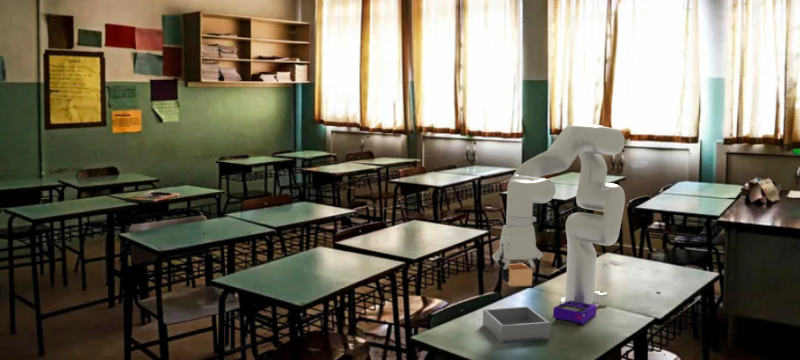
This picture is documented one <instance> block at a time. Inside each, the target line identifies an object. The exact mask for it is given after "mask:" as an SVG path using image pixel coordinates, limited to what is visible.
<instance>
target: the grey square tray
mask: <svg viewBox="0 0 800 360" xmlns="http://www.w3.org/2000/svg"><path fill="white" fill-rule="evenodd" d="M482 312H483V313H482V326H483V325H484V326H485V327H486V328H487V329H488V330H487V329H486V328H485V327H484V326H483V327H484V328H485V329H486V330H487V331H488V332H489V333H491V335H493V337H495V339H497V340H498V341H499V342H500V343H501V344H504V343H515V342H517V343H518V342H519V343H520V342H527V341H528V342H530V341H539V340H550V331H551V322H550V321H549V320H547V319H546V318H545V317H543V316H542V315H540V314H539V313H538V312H536V310H534V309H532V308H531V307H530V306H529V305H528V306H515V307H512V306H511V307H502V308H500V307H499V308H488V309H485V308H484V309H483V310H482Z"/></svg>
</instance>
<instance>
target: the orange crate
mask: <svg viewBox="0 0 800 360" xmlns="http://www.w3.org/2000/svg"><path fill="white" fill-rule="evenodd" d="M508 269H509V281H508V282H505V281H503V279H502V278H501V280H502V282H503V283H505V284H506V285H508V286H509V287H511V288H513V287H517V288H518V287H532V286H533V276H532V269H531V268H530V267H528V266H527V264H525V263H522V262H521V263H509V266H508Z"/></svg>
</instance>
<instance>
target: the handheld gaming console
mask: <svg viewBox="0 0 800 360" xmlns="http://www.w3.org/2000/svg"><path fill="white" fill-rule="evenodd" d="M597 308H598V307H597V305H591V304H586V303H581V302H576V301H568V302H565V303H563V304H561V303H560V304H559V305H556V306H554V307H553V314H552V318H553V319H556V320H557V323H561V324H565V325H569V326H574V327H576V326H577V325H578V324H579V325H585V324H586V323H587V322H588V321H589V320H590V319H592V317H593V318H594V317H595V316H596V315H597Z"/></svg>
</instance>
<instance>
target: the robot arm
mask: <svg viewBox="0 0 800 360" xmlns="http://www.w3.org/2000/svg"><path fill="white" fill-rule="evenodd" d="M625 141H626V140H625V135H624V133H623V132H622V131H621V130H619V129H616V128H614V127H607V126H602V125H599V124H597V125H596V124H584V123H581V124H580V123H571V124H568V125H567V126H565V127H564V128H563V129H562V130H561V132H560V133H559V135H558V136H557V138H556V139H554V141H553V142H552V144H551V145H550V147H549V148H548V149H547V150H546V151H543V152H541V153H539V154H537V155H536V156H533V157H532V158H529V159H528V160H526V161H525V162H523V163H522V164H520V166H518V167H517V169H516V170H515V172H514V173H513V175H512V176H511V177H510V180H509V181H508V183H507V191H506V193H507V194H506V218H505V219H506V220H505V221H506V222H505V224H503V225H502V230H501V234H500V240H499V246H498V247H499V248H498V249H496V251H495V252H494V253H493V254H492V258H493V260H494V261H495V262H496V263H497V264H498V265H499V266H500V268H501V280H502V279H503V281H505V282H508V281H509V269H508V266H509V264H511V262H512V261H525V263H526V265H527V266H528V267H530V268H531V269H532V277H533V274H534V273H533V272H534V268H535V266H536V265H537V263H538V262H539V261H540V260H541V258H542V257H543V256H544V254H543V252H542V251H540V249H538V247H537V244H536V243H537V240H536V239H537V238H536V232H535V227H534V225H533V223H534V222H537V217H536V216H533V210H534V203H535V204H546V203H549V202H550V201H552V200H553V198H554V196H555V194H556V185H555V184H554V182H553V181H552V180H550V179H548V178H545V177H543V176H547V175H548V176H549V175H554V174H558V173H561V172H563V171H566V170H568V169H569V168H570V167H571V166H572V164H573V162H574V161H575V160H576V158H577V157H578V158H579V160H580V167H581V168H580V173H579V174H580V175H579V180H578V185H577V190H576V195H575V201H576V205H577V206H578V207H580V208H582V209H586V210H591V211H595V212H596V211H599V212H603V215H602V214H601V215H600V214H595V213H589V212H581V211H580V212H579V211H578V212H574V213H571V214H570V215H568V217H567V219H566V220H565V234H566V240H567V242H566V243H567V256H566V257H567V258H566V274H565V275H566V276H565V277H566V278H565V279H566V280H565V296H563V297H561V298H560V304H563V303H565V302H568V301H576V302H581V303H586V304H591V305H597V308H598V307H599V306H600V305H599V304H600V302H599V300H603V299H604V300H605V299H608V295H609V294H608V293H607V292H600V291H596V273H597V252H596V248H595V247H594V244H595V245H601V246H608V247H609V246H612V245H614V244H615V243H616V242H617V240H618V239H619V235H620V230H621V226H622V225H621V224H622V220H623V215H624V209H625V205H626V195H625V191H624V189H623V187H622V186H620V185H619V184H615V183H609V182H606V181H607V175H608V165H607V163H606V160H605V158H604V156H605V155H606V156H616V155H619V154H620V153H621V152H622V151H623V150H624V148H625V143H626V142H625ZM602 155H603V156H602ZM500 257H502V259H500ZM503 281H502V282H503ZM505 282H504V283H505Z"/></svg>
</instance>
